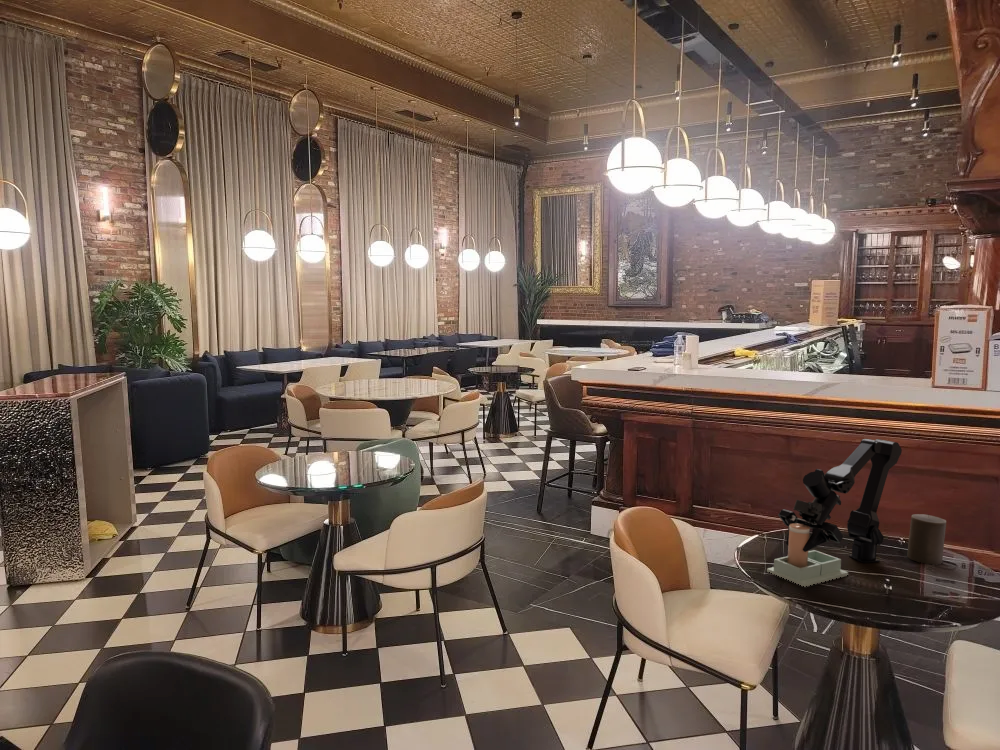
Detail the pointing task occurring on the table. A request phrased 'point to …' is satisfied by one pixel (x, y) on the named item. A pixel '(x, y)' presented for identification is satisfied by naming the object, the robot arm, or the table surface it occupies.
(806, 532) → the tumbler
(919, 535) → the pillar candle
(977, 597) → the table surface
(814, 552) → the compartment organizer
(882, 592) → the table surface
